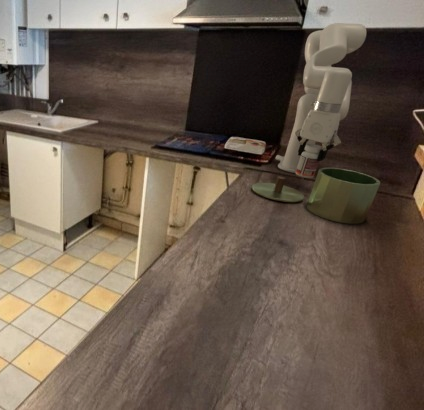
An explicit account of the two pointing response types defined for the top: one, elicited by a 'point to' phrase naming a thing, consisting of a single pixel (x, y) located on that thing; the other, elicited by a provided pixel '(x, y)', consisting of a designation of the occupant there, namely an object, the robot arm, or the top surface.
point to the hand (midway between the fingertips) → (310, 157)
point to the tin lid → (278, 191)
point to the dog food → (245, 145)
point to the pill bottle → (308, 161)
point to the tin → (342, 195)
